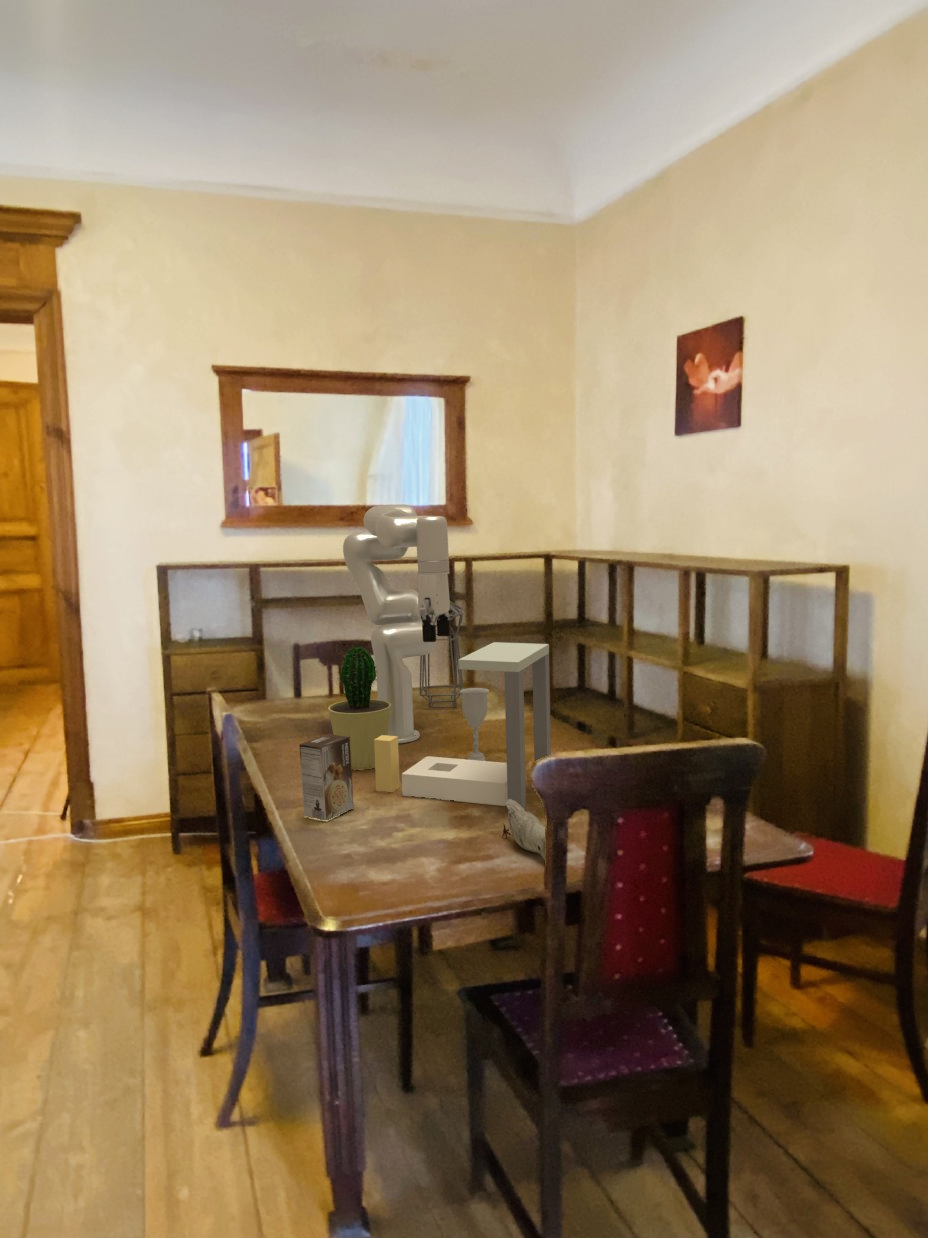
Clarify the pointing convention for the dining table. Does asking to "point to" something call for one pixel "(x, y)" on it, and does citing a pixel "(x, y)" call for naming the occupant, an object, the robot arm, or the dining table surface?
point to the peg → (387, 763)
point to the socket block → (457, 780)
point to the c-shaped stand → (519, 703)
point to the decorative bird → (525, 828)
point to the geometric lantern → (456, 645)
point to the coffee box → (326, 776)
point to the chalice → (475, 715)
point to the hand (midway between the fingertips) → (436, 638)
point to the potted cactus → (360, 708)
